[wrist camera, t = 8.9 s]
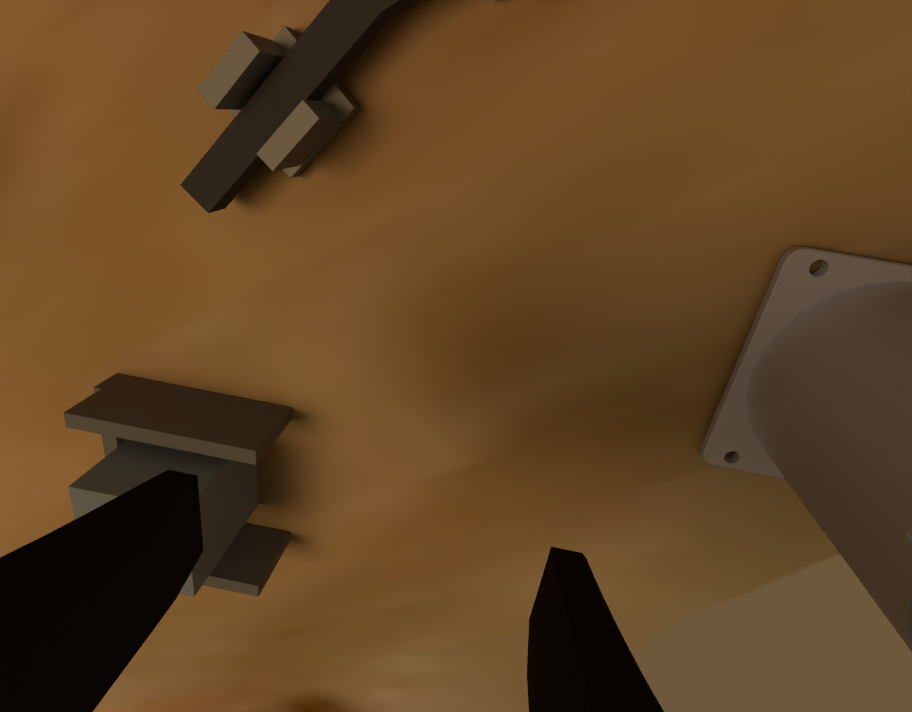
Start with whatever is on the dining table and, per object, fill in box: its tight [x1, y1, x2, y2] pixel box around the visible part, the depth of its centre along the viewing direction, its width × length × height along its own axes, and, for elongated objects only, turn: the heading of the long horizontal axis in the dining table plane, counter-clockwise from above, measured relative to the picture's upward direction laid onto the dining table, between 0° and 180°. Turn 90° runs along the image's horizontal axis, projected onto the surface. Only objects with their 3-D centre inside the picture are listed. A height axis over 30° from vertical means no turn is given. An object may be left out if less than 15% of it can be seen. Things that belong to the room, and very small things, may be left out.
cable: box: [181, 0, 419, 213], centre depth 14 cm, size 16×2×1 cm, turn 124°
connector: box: [69, 439, 258, 596], centre depth 20 cm, size 4×4×6 cm
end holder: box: [64, 374, 291, 597], centre depth 21 cm, size 7×7×3 cm
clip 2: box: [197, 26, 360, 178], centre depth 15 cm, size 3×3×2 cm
